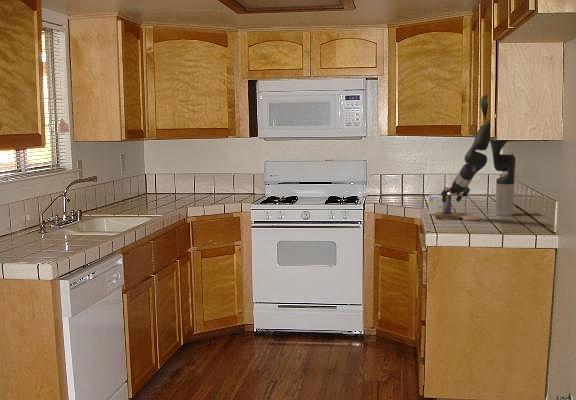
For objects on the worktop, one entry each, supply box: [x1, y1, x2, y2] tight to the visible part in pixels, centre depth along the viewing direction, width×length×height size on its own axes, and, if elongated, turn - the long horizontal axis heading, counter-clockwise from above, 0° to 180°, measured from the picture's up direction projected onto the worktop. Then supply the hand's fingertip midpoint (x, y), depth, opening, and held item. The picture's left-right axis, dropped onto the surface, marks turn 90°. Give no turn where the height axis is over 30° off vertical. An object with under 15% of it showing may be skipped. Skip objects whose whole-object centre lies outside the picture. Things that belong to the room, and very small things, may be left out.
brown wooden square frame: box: [434, 211, 460, 221], centre depth 340 cm, size 12×12×2 cm
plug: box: [443, 194, 452, 214], centre depth 340 cm, size 5×5×13 cm
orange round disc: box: [461, 216, 480, 222], centre depth 335 cm, size 9×9×1 cm
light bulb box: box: [428, 194, 443, 215], centre depth 356 cm, size 11×7×11 cm, turn 59°
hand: (450, 201), depth 336 cm, fingers open, 8 cm apart
